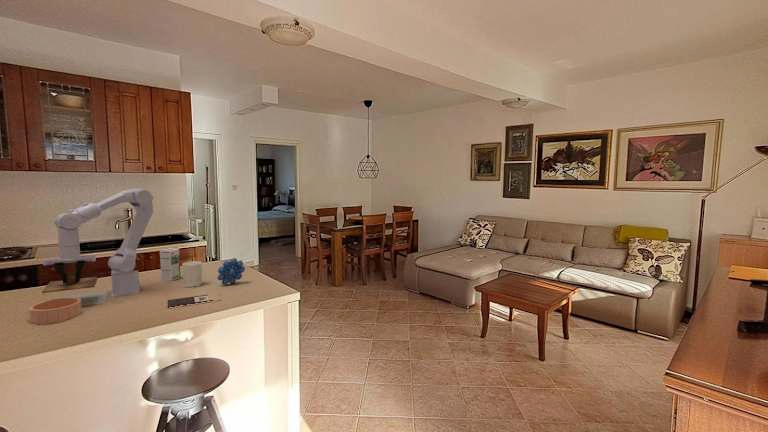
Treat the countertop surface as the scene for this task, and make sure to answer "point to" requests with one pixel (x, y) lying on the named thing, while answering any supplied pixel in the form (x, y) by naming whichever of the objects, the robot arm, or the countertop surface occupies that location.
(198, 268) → the white cup
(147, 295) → the countertop surface
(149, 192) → the robot arm
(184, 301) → the chocolate bar
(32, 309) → the bowl
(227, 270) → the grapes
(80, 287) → the lid
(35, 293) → the countertop surface
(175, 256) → the syrup box
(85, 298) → the mat
